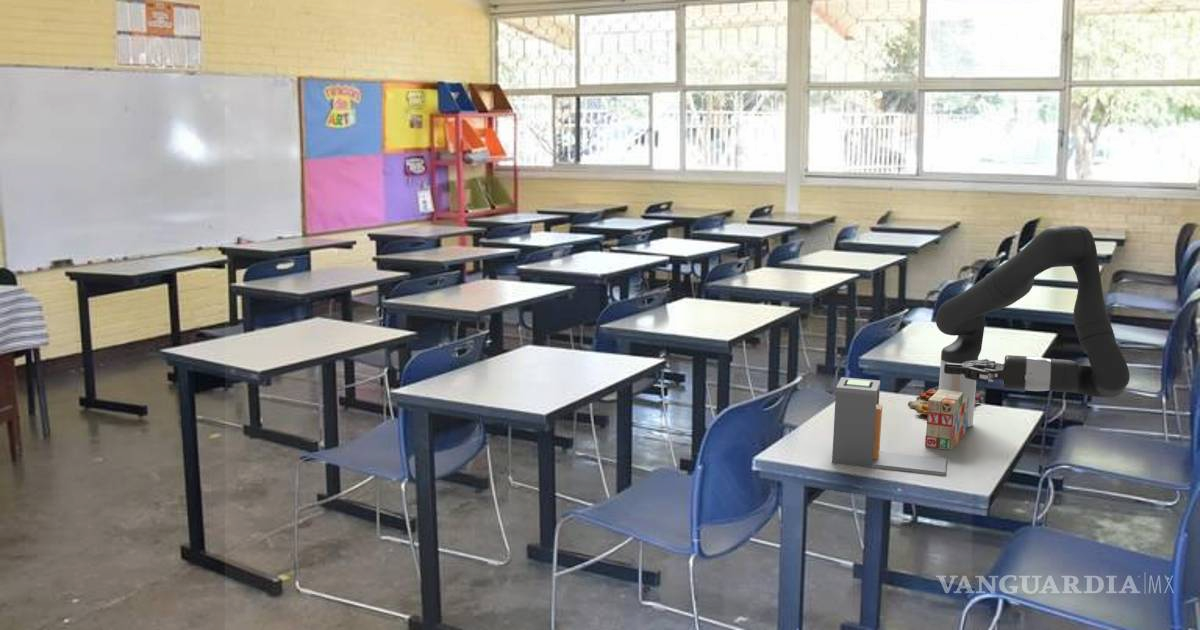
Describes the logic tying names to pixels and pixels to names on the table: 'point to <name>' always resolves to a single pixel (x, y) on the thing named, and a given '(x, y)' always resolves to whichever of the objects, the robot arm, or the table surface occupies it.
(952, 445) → the stack of blocks
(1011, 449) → the table surface
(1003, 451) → the table surface
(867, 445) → the grey tower on baseplate
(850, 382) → the on button
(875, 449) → the orange upright cuboid
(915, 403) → the gear puzzle
